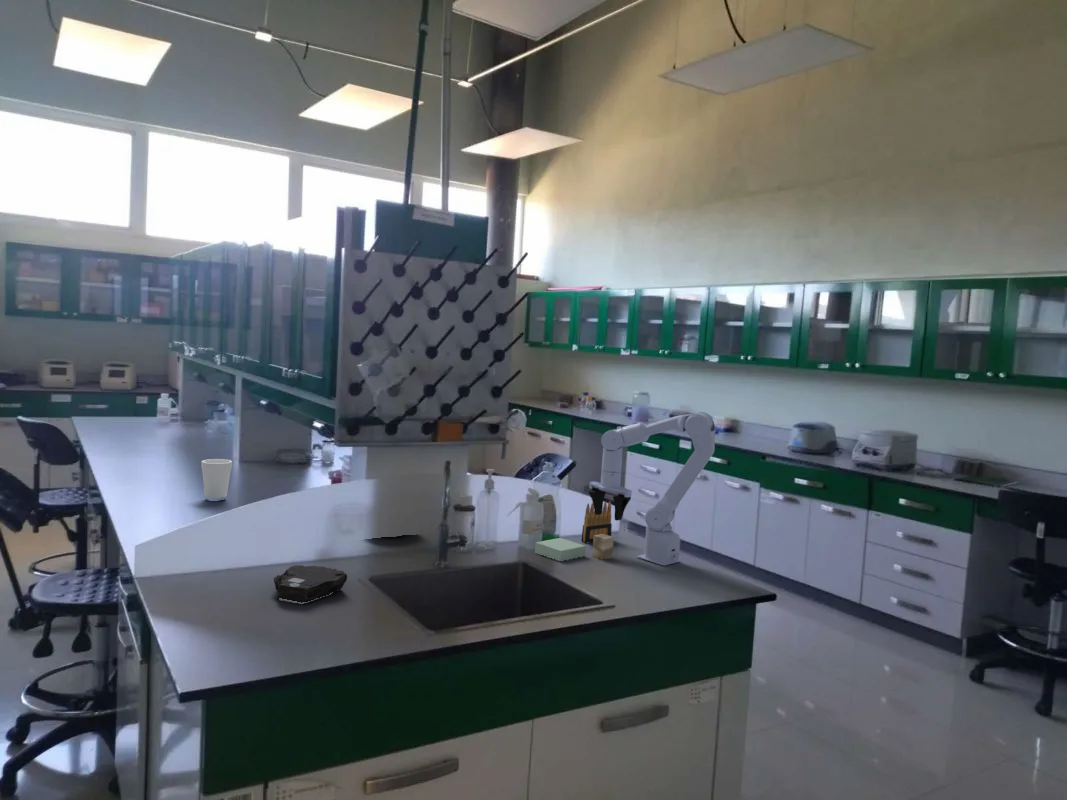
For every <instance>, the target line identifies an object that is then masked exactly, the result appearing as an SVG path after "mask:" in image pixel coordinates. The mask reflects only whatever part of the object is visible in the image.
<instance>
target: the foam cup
mask: <svg viewBox="0 0 1067 800" xmlns="http://www.w3.org/2000/svg"><path fill="white" fill-rule="evenodd" d="M200 464H201V465H200V466H201V467H200V468H201V470H202V471H201V472H202V482H203V490H204V498H205V497H208V498H221V497H226V496H227V495H228V490H229V484H230V479H231V474H232V473H231V472H232V469H233V461H232V460H230V459H224V458H211V459H210V458H209V459H204V460H201V463H200ZM226 498H227V497H226Z"/></svg>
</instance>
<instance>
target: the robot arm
mask: <svg viewBox="0 0 1067 800" xmlns="http://www.w3.org/2000/svg"><path fill="white" fill-rule="evenodd" d="M715 424H716V423H715V422H714V418H713V417H712V416H711V415H710V414H709V413H707V412H705V411H700V412H697V413H688V414H687V413H686V414H681V415H680V414H679V415H676V416H672V417H670V418H667V419H666V418H665V419H663V420H659V421H656V422H653V423H649V424H646V423H644V422H642V421H639V422H638V421H637V420H636V421H633V422H631V424H630V425H624V426H621V425H620V426H617V427H616V429H609V430H608V431H605V432H604V433H603V434H602V436H601V439H600V442H601V445H602V447H603V449H602V459H601V471H600V472H601V474H600V482H599V481H594V480H593V481H589V483H588V485H589V486H588V488H589V489H591V490H589V491H588V494H589V496H590V498H591V500H592V503H593V505H594V510H595V515H600V514H601V513H602V511H603V510H602V508H603V506H604V501H605V496H606V493H610V494H614V495H615V496H614V495H613V496H612V500H613V504H614V505H613V506H614V520H615V521H621V520H622V517H623V514H624V512H625V510H626V507H627V505H628V504H629V502H630V501H631V500H632V493H633V490H632V489H630V488H629V489H628V488H625V487H624V486H621V481H622V480H621V479H622V478H621V477H622V466H623V448H624V447H625V448H626V447H631V446H634V445H638V444H642V443H646V442H647V441H648V440H649V439H650V436H653V435H657V434H661V433H665V432H669V431H674V430H676V431H678V432H681V433H684V432H686V433H687V435H688V436H689V438H690V439H691V441H692V445H693V449H694V451H693V452H692V454H690V456H689V458H688V459H687V461H686V463H685V464H684V465H683V467H682V468H681V470H680V471H679V472H678V474H677V475H676V477H675V478H674V480H673V481H672V483H671V484H670V486H669V487H668V489H667V490H666V491H665V492H664V494H663V496H662V497H661V498H660V499H659V501H658V502H656V505H655V506H653V507H652V508H650V509H648V510H647V512H646V513H645V516H644V519H645V523H646V526H645V538H644V553H642V554H639V555H637V558H639V559H640V560H641V559H642V560H644V561H648V562H651V563H654V564H657V565H661V566H668V565H671V564H677V563H679V562H681V559H680V550H681V549H680V548H681V536H680V534H678V533H676V532H674V531H673V527H672V525H671V523H672V521H673V520H674V518H675V512H676V509H677V508H678V507H679V504H680V503H681V501H682V500H683V499H684V497H685V495H686V494H687V492H688V491H689V490H690V488H691V487H692V485H693V484H694V482H695V481H696V479H697V478H698V477H699V475H700V474H701V472H702V471H703V469H704V468H705V467H706V465H707V464H708V462H709V461H710V459H711V458H712V456H713V455H714V453H715V450H716V449H715V446H716V443H715V442H716V441H715V440H716V439H715V438H716V429H717V427H716V425H715Z"/></svg>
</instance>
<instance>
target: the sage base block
mask: <svg viewBox="0 0 1067 800" xmlns="http://www.w3.org/2000/svg"><path fill="white" fill-rule="evenodd" d="M534 547H535V548H534V553H535V554H537V555H541V556H542V555H544V556H543V557H545V556H546V558H548V559H551V558H552V559H551V560H554V559H555V560H554V561H557V560H558V561H557V562H559V561H561V562H565V561H564V560H566V561H569V559H570V560H573V558H575V559H579V558H578V557H580V558H583V556H584V557H586V545H584V544H581V543H578V542H574V541H572V540H569V539H565V538H563V537H556V538H553V539H547V540H542V541H536V542H535V545H534Z"/></svg>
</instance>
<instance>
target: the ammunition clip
mask: <svg viewBox="0 0 1067 800" xmlns="http://www.w3.org/2000/svg"><path fill="white" fill-rule="evenodd" d="M612 525H613V524H612V504H611V501H610V500H609V501H608V504H607V501H604V502H603V508H602V513H601V514H600V515H595V510H594V505H593V502H592V503H591V504H590V503H586V507H585V514H584V521H583V525H582V532H581V534H582V535H581V541H582V543H583V542H584V544H588V543H587V542H592V543H593V538H594V535H600V534H605V535H609V536H612V531H613V530H612V527H613V526H612Z"/></svg>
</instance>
